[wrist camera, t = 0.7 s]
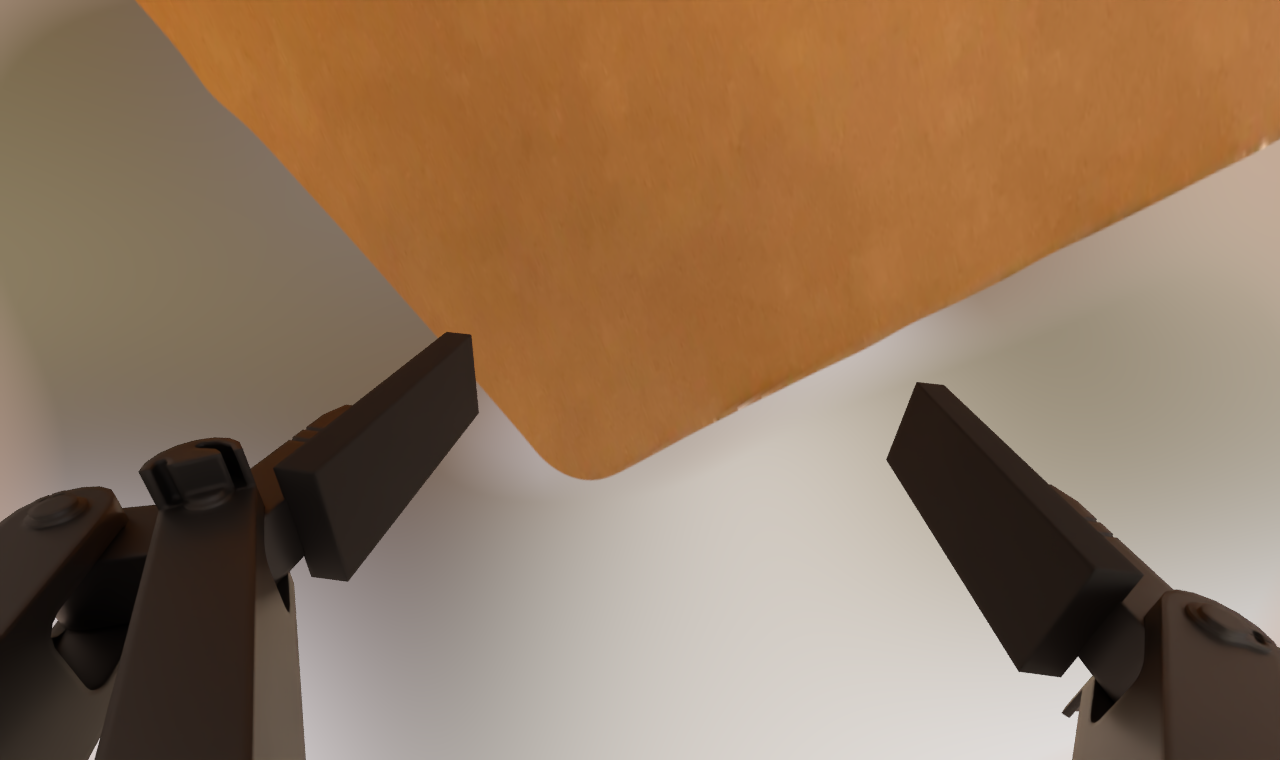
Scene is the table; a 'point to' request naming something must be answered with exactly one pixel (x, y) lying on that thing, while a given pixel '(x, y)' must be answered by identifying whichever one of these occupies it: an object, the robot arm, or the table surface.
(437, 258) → the table surface
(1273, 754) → the robot arm
